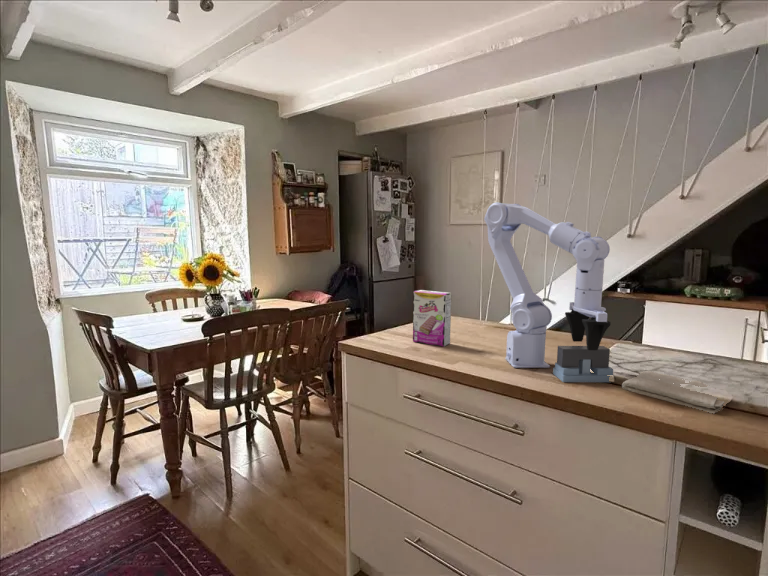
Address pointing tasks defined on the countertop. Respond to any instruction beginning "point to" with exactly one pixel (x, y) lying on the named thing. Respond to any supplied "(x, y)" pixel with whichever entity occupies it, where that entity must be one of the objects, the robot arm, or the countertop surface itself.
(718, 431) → the countertop surface
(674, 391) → the washcloth
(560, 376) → the display stand
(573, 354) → the dark grey rectangular block
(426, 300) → the candy bar box
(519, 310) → the robot arm
